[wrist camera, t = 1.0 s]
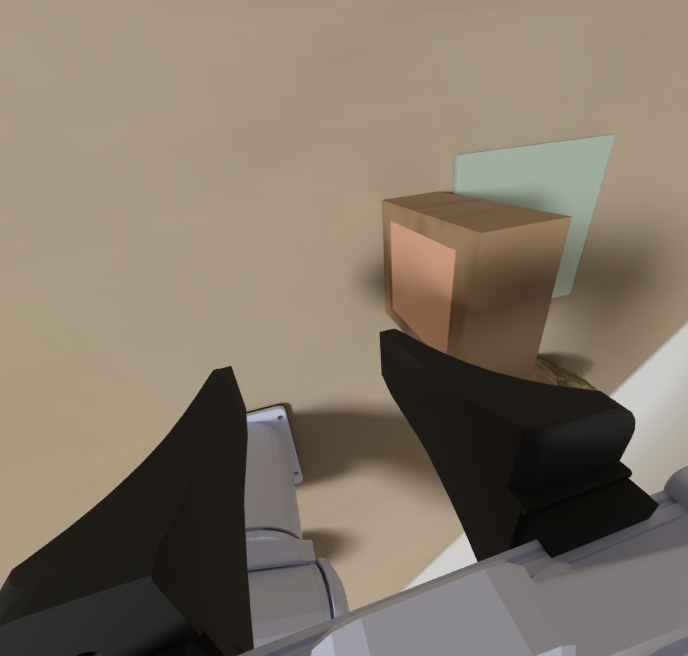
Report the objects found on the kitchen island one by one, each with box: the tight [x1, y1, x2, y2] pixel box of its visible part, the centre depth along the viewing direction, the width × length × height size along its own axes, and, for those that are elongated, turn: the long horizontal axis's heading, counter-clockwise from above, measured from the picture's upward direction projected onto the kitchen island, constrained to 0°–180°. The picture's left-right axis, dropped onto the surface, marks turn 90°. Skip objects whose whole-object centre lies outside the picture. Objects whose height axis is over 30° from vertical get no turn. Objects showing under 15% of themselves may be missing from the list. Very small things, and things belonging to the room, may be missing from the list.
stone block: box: [527, 358, 598, 391], centre depth 32 cm, size 6×12×5 cm, turn 157°
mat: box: [453, 135, 615, 299], centre depth 24 cm, size 12×12×1 cm
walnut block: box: [382, 191, 572, 380], centre depth 18 cm, size 8×4×10 cm, turn 6°
